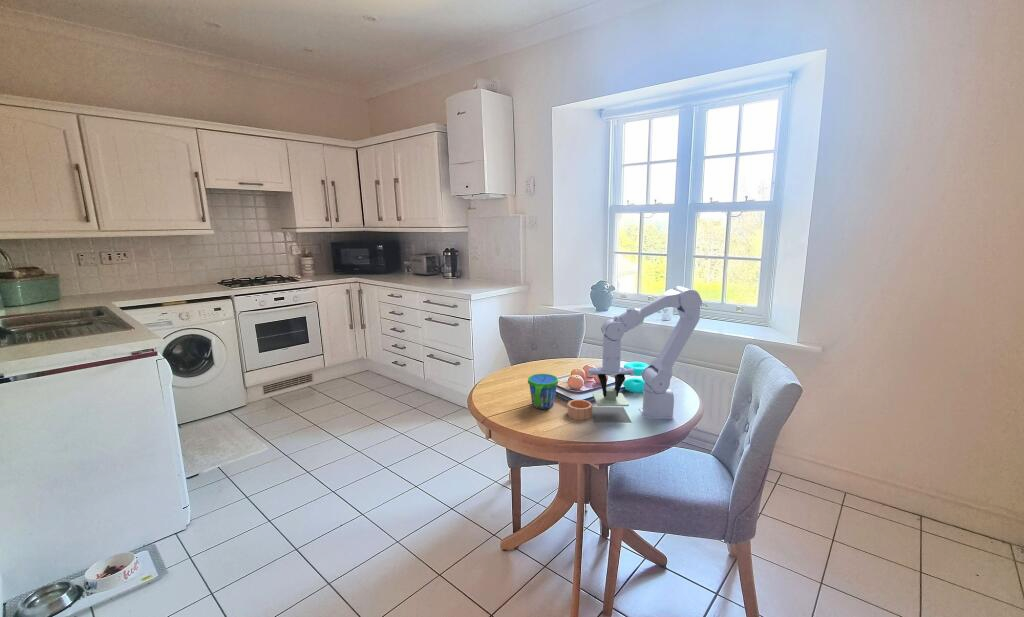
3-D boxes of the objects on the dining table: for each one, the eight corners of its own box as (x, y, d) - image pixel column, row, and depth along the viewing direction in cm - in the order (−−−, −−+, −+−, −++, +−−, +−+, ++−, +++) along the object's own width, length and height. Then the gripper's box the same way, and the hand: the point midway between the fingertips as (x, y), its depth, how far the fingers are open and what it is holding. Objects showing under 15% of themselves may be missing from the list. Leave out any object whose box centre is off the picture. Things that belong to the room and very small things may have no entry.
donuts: (621, 360, 172) (646, 360, 172) (620, 384, 174) (645, 384, 174) (627, 368, 162) (654, 368, 162) (626, 394, 164) (652, 394, 164)
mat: (623, 408, 151) (623, 407, 151) (631, 423, 140) (631, 422, 140) (588, 408, 152) (588, 406, 152) (594, 423, 140) (594, 422, 140)
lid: (621, 394, 149) (622, 384, 149) (628, 406, 140) (629, 395, 139) (592, 394, 150) (593, 383, 149) (597, 406, 140) (598, 394, 139)
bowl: (589, 410, 150) (590, 399, 149) (593, 420, 142) (593, 409, 141) (566, 410, 150) (566, 399, 149) (568, 420, 142) (569, 409, 141)
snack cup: (549, 417, 145) (549, 388, 143) (520, 411, 149) (520, 383, 147) (563, 400, 159) (564, 373, 157) (537, 395, 163) (537, 369, 161)
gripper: (591, 360, 138) (590, 400, 141) (637, 360, 138) (635, 400, 140) (587, 353, 145) (587, 392, 148) (631, 353, 145) (630, 392, 147)
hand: (610, 395), depth 144 cm, fingers closed on lid, 3 cm apart
